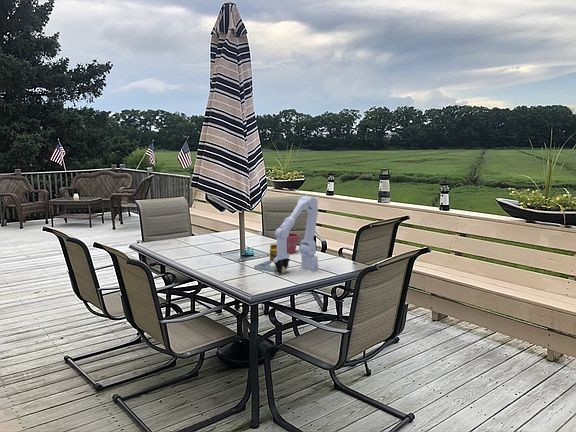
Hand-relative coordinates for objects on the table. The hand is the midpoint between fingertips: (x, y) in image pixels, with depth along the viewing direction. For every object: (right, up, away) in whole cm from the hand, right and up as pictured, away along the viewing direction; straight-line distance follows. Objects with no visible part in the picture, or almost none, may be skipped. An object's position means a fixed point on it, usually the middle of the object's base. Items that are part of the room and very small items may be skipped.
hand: (281, 271), depth 271 cm
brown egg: (0, -1, 0) cm, 1 cm away
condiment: (-6, +2, +27) cm, 27 cm away
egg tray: (-6, 0, +11) cm, 13 cm away
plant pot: (+4, +7, +56) cm, 56 cm away
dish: (0, -2, 0) cm, 2 cm away
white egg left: (-5, 0, +6) cm, 8 cm away
